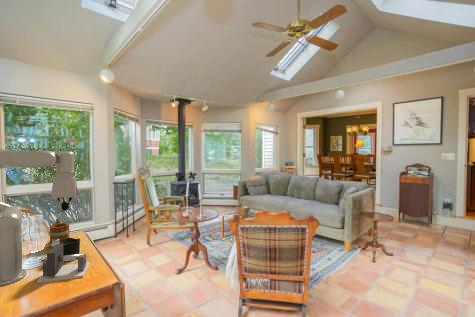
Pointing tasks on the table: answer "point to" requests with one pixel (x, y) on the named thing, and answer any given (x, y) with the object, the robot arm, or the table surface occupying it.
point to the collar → (54, 260)
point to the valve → (55, 242)
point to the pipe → (79, 257)
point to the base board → (65, 273)
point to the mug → (58, 231)
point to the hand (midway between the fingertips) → (65, 210)
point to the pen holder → (70, 246)
